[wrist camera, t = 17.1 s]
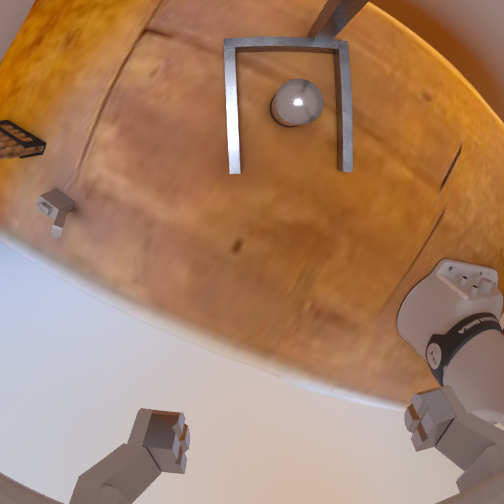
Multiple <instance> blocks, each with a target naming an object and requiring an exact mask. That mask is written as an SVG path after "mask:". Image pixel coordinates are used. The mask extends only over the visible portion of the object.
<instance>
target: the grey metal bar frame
mask: <svg viewBox="0 0 504 504" xmlns="http://www.w3.org/2000/svg"><path fill="white" fill-rule="evenodd" d="M368 1H369V0H328V1H327V3H326V4H325V6H324V8H323V9H322V11H321V13H320V14H319V16H318V18H317V19H316V21H315V23H314V24H313V26H312V28H311V29H310V31H309V38H302V37H246V38H228V39H224V61H225V86H226V109H227V130H228V150H229V168H230V174H237V173H241V158H240V136H239V115H238V92H237V69H236V52H259V51H292V52H316V53H330V54H334V67H335V83H336V106H337V169H338V170H340V171H342V172H352V167H353V128H352V95H351V76H350V62H349V50H348V41H341V40H333V39H334V37H335V36H336V35H337V34H338V33H339V32H340V31H341V30H342V29H343V28H344V27H345V25H346V24H347V23H348V22H349V21H350V20H351V19H352V18H353V17H354V16H355V15H356V14H357V13H358V12H359V11H360V10H361V9H362V8H363V7H364V5H365V4H366V3H367V2H368Z"/></svg>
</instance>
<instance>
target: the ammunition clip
mask: <svg viewBox="0 0 504 504" xmlns="http://www.w3.org/2000/svg"><path fill="white" fill-rule="evenodd" d="M45 146H46V143H45V142H44V141H42V140H40V139H39V138H37V137H35V136H34V135H32V134H30V133H29V132H27V131H25V130H24V129H22V128H20V127H19V126H17V125H15V124H14V123H12V122H10V121H9V120H3V121H0V159H11V158H15V157H19V158H26V157H31V156H37V155H43V152H44V149H45Z"/></svg>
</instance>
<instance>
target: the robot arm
mask: <svg viewBox="0 0 504 504" xmlns="http://www.w3.org/2000/svg"><path fill="white" fill-rule="evenodd" d="M449 267H450V268H449ZM497 287H498V274H497V271H496V270H495V269H494V268H490V267H485V266H480V265H476V264H471V263H466V262H461V261H455V260H450V259H443V260H441V261H440V262H439V263H438V264H437V266H436V267H435V269H434V270H433V271H432V273H431V274H430V275H429V276H427V277H426V278H425V279H423V280H422V281H421V282H419V283H418V284H417V285H416V286H415V287H414V288H413V289H412V290H411V291H410V293H409V294H408V295H407V297H406V298H405V300H404V302H403V304H402V306H401V308H400V311H399V314H398V319H397V328H398V332H399V334H400V336H401V337H402V338H403V339H404V340H405V341H406V342H408V343H409V344H410V345H411V346H412V347H413V348H414V350H415V351H416V352H417V354H418V355H421V356H422V357H423V359H424V360H425V361H426V362H427V363H428V365H429V367H430V369H431V372H432V373H433V375H434V377H435V378H436V380H437V382H438V383H439V385H440V386H441V387H439V388H434V389H430V390H426V391H423V392H419V393H415V394H414V395H413V397H412V399H411V402H412V404H411V405H410V406H409V407H407V409H406V412H405V425H406V427H407V430H409V431H410V432H412V433H413V435H412V437H411V440H412V442H413V445H414V447H415V450H416V451H421V450H424V449H428V448H431V447H434V446H435V448H436V449H437V450H439V451H440V452H441V453H442V454H444V455H445V456H446V457H447V458H449V459H450V460H451V461H452V462H454V463H455V464H456V465H457V466H459V467H460V468H461V469H462V470H464V471H465V472H464V473H463V474H462V475H461V476H460V477H459V478H458V479H457V482H456V483H457V486H458V488H459V491H460V493H459V494H457V495H454V496H452V497H450V498H448V499H445V500H443V501H441V502H438V503H436V504H504V431H503V430H501V429H499V428H498V427H496V426H494V424H497V423H501V424H502V425H503V426H504V329H503V331H502V329H501V327H500V324H499V320H500V317H501V313H502V309H503V295H502V293H501V291H500V290H499V289H498V288H497ZM184 422H185V417H184V414H183V413H179V412H169V411H159V410H151V409H143V408H141V409H140V410H139V411H138V413H137V416H136V419H135V422H134V425H133V428H132V431H131V434H130V437H129V440H128V443H127V444H122V445H121V446H120V447H118V448H117V449H116V450H114V451H113V452H112V453H110V454H109V455H108V456H106V457H105V458H104V459H102V460H101V461H100V462H98V463H97V464H96V465H94V466H93V467H91V468H90V469H89V470H87V471H86V472H85V473H83V474H82V475H81V476H79V478H78V481H77V483H76V486H75V489H74V491H73V495H72V497H71V500H70V503H69V504H132V503H133V502H134V501H135V500H136V499H137V498H138V497H139V496H140V495H141V494H142V493H143V491H145V490H146V488H147V487H148V486H149V485H150V484H151V483H152V482H153V481H154V480H155V479H156V478H157V477H158V476H159V475H160V474H161V472H170V473H180V474H184V473H185V467H186V462H187V458H186V456H185V452H186V451H187V450H188V449H189V443H190V433H189V429H188V426H187V425H186V424H185V423H184ZM0 504H64V503H61V502H59V501H56V500H54V499H52V498H49V497H47V496H45V495H43V494H41V493H38V492H36V491H34V490H32V489H30V488H28V487H26V486H24V485H22V484H20V483H18V482H17V481H15V480H13V479H11V478H9V477H7V476H6V475H4V474H2V473H0Z"/></svg>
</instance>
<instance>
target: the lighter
mask: <svg viewBox="0 0 504 504" xmlns="http://www.w3.org/2000/svg"><path fill="white" fill-rule="evenodd" d="M36 206H37V207H38V210H39V211H40V212H41V213H43V214H44V215H45V216H48V215H49V216H50V217H51V218H53V219H54V220H55V222H54V224H53V227H52V231H51V234H50V236H52V237H54V238H57V239H59V238H60V235H61V232H62V229H63V225H64V222H65V219H66V216H67V213H69V212H71V211H72V209H73V206H74V201H73V200H71V199H70V198H68V197H67V196H66V195H64V194H63V193H61V192H60V191H58V190H57V189H55V190H52V191H50V192H47V193H45V194H42V195H40V196H38V199H37V202H36Z"/></svg>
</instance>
